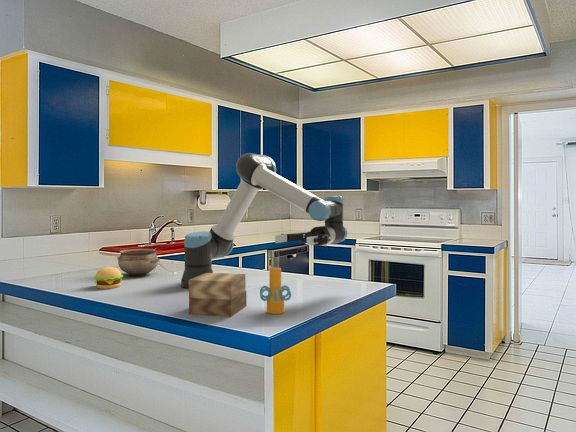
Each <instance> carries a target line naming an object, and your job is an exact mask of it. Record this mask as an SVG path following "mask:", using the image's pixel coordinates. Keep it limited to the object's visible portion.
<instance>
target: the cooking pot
mask: <svg viewBox="0 0 576 432" xmlns="http://www.w3.org/2000/svg"><path fill="white" fill-rule="evenodd" d="M156 251H157V250H156V249H153V248H152V249H151V248H133V249H124V250H120V251H119V253H120V255H119V256H117V258H116V259H117V263H118V267H119V270H121V271H122V272H124V273H125V274H128V275H130V276H131V277H143V276H146V275H147V274H149V273H150V272H152V271H153V270H155V269H156V268H157V267H158V263H159V262H160V260H161V258H158V256H157V253H156Z"/></svg>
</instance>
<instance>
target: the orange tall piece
mask: <svg viewBox="0 0 576 432" xmlns="http://www.w3.org/2000/svg"><path fill="white" fill-rule="evenodd" d="M268 272H269V278H268V279H269V282H268V284H269V286H267V285H263V286H261V287H260V288H259V296H260V299H261V300H262V302H266V313H268V314H271V315H280V314H284V312H285V301H287V302H288V301H290V300H291V298H292V291H291V290H290V287H289V286H288V285H282V268H281V267H269V271H268ZM265 291H267V292H268V294H267V295H264V292H265ZM284 291H287V292H286V294H284V295H283V292H284Z"/></svg>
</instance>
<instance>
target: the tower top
mask: <svg viewBox="0 0 576 432" xmlns="http://www.w3.org/2000/svg"><path fill="white" fill-rule="evenodd" d="M244 291H246V292H247V289H246V273H231V272H230V273H225V272H213V273H204V274H202V275H200V276H197V277H195V278H192V279H190V280H189V288H188V299H189V298H203V299H225V300H232V299H233V298H235V297H237V296H238V295H240V294H241V293H243V292H244Z"/></svg>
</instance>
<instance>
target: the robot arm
mask: <svg viewBox="0 0 576 432" xmlns="http://www.w3.org/2000/svg"><path fill="white" fill-rule="evenodd" d="M235 170H236V173H237V175H238V176H239V178H240V182H239V183H238V184H239V185H238V186H237V188H236V190H235V192H234V193H233V195H232V197H231V199H230V201H229V202H228V204H227V206H226V208H225V209H224V211H223V213H222V215H221V217H220V219H219V221H218V222H217V224H213V225H212V226H211V228H210V229H209V231H204V230H203V231H193V232H189V233H187V234H186V235H185V236H184V241H183V245H184V249H183V250H184V270H183V274H182V276H181V281H180V287H181V288H184V289H189V280H190V279H192V278H195V277H197V276H200V275H202V274H204V273H214V270H213V267H212V264H213V263H212V261H213V260H215V259H220V258H224V257H226V256H228V255H229V254H230V253H232V251H233V249H234V246H235V243H234V240H235V238H236V237H235V232H236V229H238V227H239V224H240V223H241V221H242V219H243V217H244V216H245V214H246V212H247V210H248V209H249V207H250V205H251V203H252V202H253V200H254V199H255V196H256V195H257V193H258V192H259V191H263V190H266V191H268V192H270V193H272V194H274V195H275V196H277V197H278V198H281V199H282V200H284V201H286V202H287V203H289V204H290V205H292V206H295V207H296V208H297V209H300V210H301V211H303V212H305V213H307V214H308V215H309V216H310V218H311V219H312V220H314V221H317V222H323V221H324V225H320V226H315V227H313V228H311V229H310V231H307V232H297V233H296V232H295V233H294V232H293V233H280V234H276V235H275V236H274V237H275V238H274V244H280V243H283V244H286V243H287V242H294V241H295V242H296V241H300V242H304V243H305V242H306V246H312V245H313V246H316V247H321V246H322V247H323V246H324V247H327V246H328V245H331V244H339V243H341V242H344V241H345V240H346V239H347V237H348V230H347V228H346V226H344V199H343V196H341V195H326V196H325V197H324V199H322V198H320V197H318V196H317V195H315V194H313V193H311V192H309V191H308V190H306V189H305V188H302V187H301V186H300V185H298V184H296V183H293V182H292V181H290V180H288V179H286V178H285V177H283V176H281V175H280V174H277V167H276V162H275V161H274V160H273V159H272V158H271V156H270V157H269V156H267V155H265V154H257V153H251V152H248V153H244V154H242V155H241V156H240V157H238V159H237V161H236V164H235Z"/></svg>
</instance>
